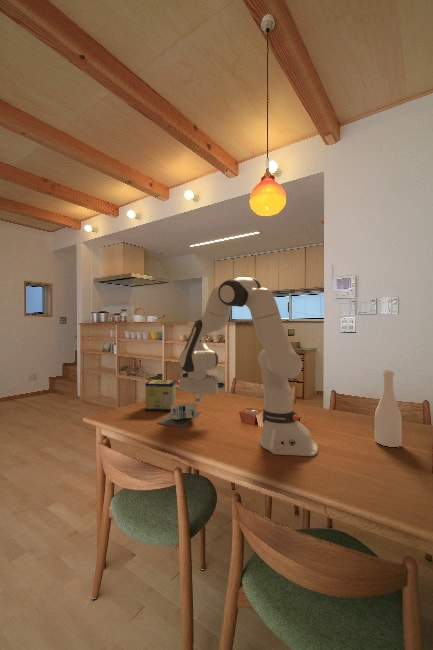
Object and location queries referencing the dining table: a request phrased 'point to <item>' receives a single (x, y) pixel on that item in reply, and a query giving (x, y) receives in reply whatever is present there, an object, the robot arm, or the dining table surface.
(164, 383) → the protein box
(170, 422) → the rubber mat
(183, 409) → the light bulb box
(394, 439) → the wine bottle
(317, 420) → the dining table surface
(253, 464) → the dining table surface
